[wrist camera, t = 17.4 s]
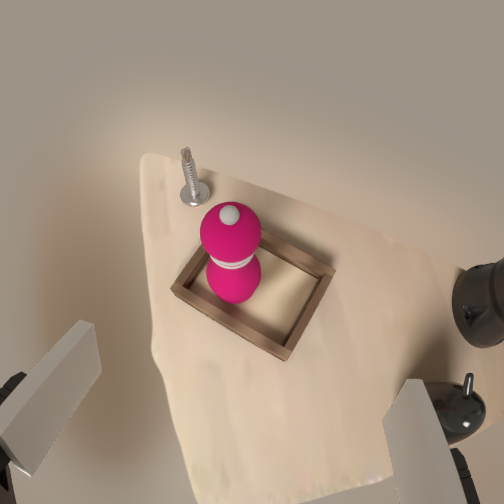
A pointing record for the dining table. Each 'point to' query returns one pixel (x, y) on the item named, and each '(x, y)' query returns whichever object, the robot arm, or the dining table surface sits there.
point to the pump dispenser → (456, 407)
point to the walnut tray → (263, 295)
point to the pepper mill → (232, 251)
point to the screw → (192, 182)
